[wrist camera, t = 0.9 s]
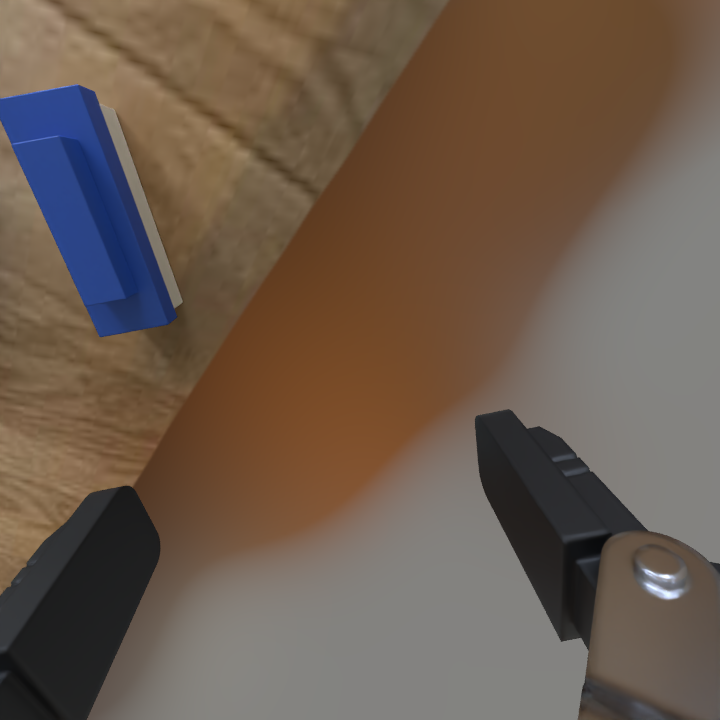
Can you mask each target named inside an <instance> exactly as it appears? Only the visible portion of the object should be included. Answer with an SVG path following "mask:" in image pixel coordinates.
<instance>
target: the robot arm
mask: <svg viewBox="0 0 720 720" xmlns="http://www.w3.org/2000/svg"><path fill="white" fill-rule="evenodd" d="M475 429H476V441H477V453H478V465H479V473H480V478H481V482H482V486H483V489H484V491H485V494H486V496H487V498H488V500H489V502H490V504H491V506H492V508H493V510H494V512H495V514H496V516H497V518H498V520H499V522H500V524H501V526H502V528H503V530H504V532H505V533H506V535H507V537H508V539H509V541H510V543H511V545H512V547H513V549H514V551H515V553H516V555H517V557H518V558H519V560H520V563H521V564H522V566H523V568H524V570H525V572H526V574H527V576H528V578H529V580H530V582H531V584H532V586H533V588H534V590H535V592H536V594H537V595H538V597H539V599H540V601H541V603H542V605H543V607H544V609H545V611H546V613H547V615H548V617H549V619H550V621H551V623H552V625H553V626H554V629H555V630H556V632H557V634H558V636H559V638H560V640H561V642H562V641H567V640H572V639H577V638H582V640H583V642H584V644H585V645H586V647H587V649H588V651H589V653H588V661H587V669H586V676H585V683H584V685H583V689H582V695H581V701H580V708H579V716H578V720H720V564H718V563H712V562H709V561H708V560H707V559H706V558H705V557H703V556H702V555H701V554H700V553H699V552H697V551H696V550H694V549H693V548H691V547H690V546H688V545H686V544H684V543H683V542H681V541H679V540H676V539H674V538H672V537H669V536H666V535H663V534H660V533H655V532H650V531H648V530H647V529H646V528H645V527H644V526H643V525H642V524H641V523H640V522H639V521H638V520H637V519H636V518H635V517H634V515H633V514H632V513H631V512H630V511H629V510H628V509H627V508H626V507H625V506H624V505H623V504H622V503H621V502H620V500H619V499H618V498H617V497H616V496H615V495H614V494H613V493H612V492H611V491H610V490H609V489H608V488H607V487H606V485H605V484H604V483H603V482H602V481H601V480H600V479H599V478H598V477H597V476H596V475H595V474H594V473H593V472H590V470H589V467H588V466H587V465H586V464H585V463H584V462H583V461H582V460H581V459H580V458H577V456H576V453H575V452H574V451H573V450H572V449H571V448H570V447H569V446H568V445H567V444H566V443H565V442H564V441H563V439H562V438H560V437H558V436H556V435H555V434H553V433H551V432H549V431H547V430H545V429H543V428H541V427H534V428H529V429H527V428H526V427H525V426H524V425H523V424H522V423H521V421H520V420H519V419H518V418H517V416H516V415H515V414H514V413H513V412H512V411H511V410H509V409H508V410H503V411H498V412H493V413H489V414H483V415H478V416H476V418H475ZM159 555H160V539H159V536H158V533H157V531H156V529H155V527H154V525H153V523H152V521H151V519H150V517H149V516H148V514H147V512H146V510H145V508H144V506H143V504H142V502H141V500H140V499H139V497H138V495H137V493H136V491H135V490H134V489H133V488H132V487H130V486H121V487H116V488H111V489H107V490H102V491H97V492H93V493H90V494H89V495H88V496H87V497H86V498H85V499H84V501H83V502H82V503H81V504H80V506H79V507H78V508H77V510H76V511H75V512H74V513H73V515H72V516H71V517H70V519H69V520H68V521H67V522H66V523H65V524H64V525H62V526H61V527H60V528H59V529H58V530H56V531H55V532H54V533H53V534H52V535H51V536H49V537H48V538H47V539H46V540H45V541H44V542H43V543H42V544H41V546H40V547H39V548H38V549H37V551H36V552H35V553H34V554H33V556H32V557H31V558H30V559H29V561H28V562H27V563H26V564H27V566H26V567H25V568H22V569H21V571H20V572H19V573H18V574H17V576H16V577H15V578H14V579H13V581H12V582H11V587H7V588H6V589H5V591H4V592H3V593H2V594H1V596H0V720H87V718H88V715H89V713H90V711H91V709H92V707H93V704H94V702H95V700H96V698H97V696H98V693H99V691H100V689H101V687H102V684H103V682H104V680H105V678H106V676H107V673H108V671H109V669H110V667H111V664H112V662H113V660H114V658H115V655H116V654H117V651H118V649H119V647H120V645H121V642H122V640H123V638H124V636H125V633H126V631H127V629H128V627H129V625H130V622H131V620H132V618H133V616H134V614H135V611H136V609H137V607H138V605H139V603H140V600H141V598H142V596H143V594H144V591H145V589H146V587H147V585H148V583H149V580H150V578H151V576H152V573H153V572H154V569H155V567H156V565H157V563H158V559H159Z"/></svg>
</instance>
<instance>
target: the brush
mask: <svg viewBox="0 0 720 720" xmlns="http://www.w3.org/2000/svg"><path fill="white" fill-rule="evenodd" d="M0 120H1V122H2V124H3V126H4V129H5V131H6V133H7V135H8V137H9V140H10V142H11V144H12V147H13V150H14V152H15V154H16V156H17V158H18V161H19V163H20V165H21V167H22V169H23V171H24V174H25V176H26V178H27V180H28V182H29V185H30V187H31V189H32V191H33V193H34V195H35V198H36V200H37V202H38V204H39V206H40V209H41V211H42V213H43V215H44V217H45V220H46V222H47V224H48V226H49V228H50V230H51V233H52V235H53V237H54V239H55V241H56V244H57V246H58V248H59V250H60V252H61V255H62V257H63V259H64V261H65V263H66V265H67V268H68V270H69V272H70V274H71V276H72V279H73V281H74V283H75V285H76V287H77V290H78V292H79V294H80V296H81V298H82V300H83V303H84V305H85V306H86V308H87V310H88V312H89V315H90V317H91V319H92V321H93V323H94V326H95V328H96V330H97V332H98V334H99V337H104V336H110V335H115V334H121V333H126V332H131V331H137V330H142V329H148V328H153V327H158V326H164V325H168V324H170V323H171V322H172V321H173V320H174V319H176V318H177V315H176V312H175V308H176V307H178V306H179V305H180V304H181V303H183V301H182V298H181V295H180V292H179V290H178V287H177V284H176V281H175V278H174V275H173V273H172V270H171V267H170V264H169V261H168V259H167V256H166V253H165V250H164V247H163V245H162V242H161V239H160V236H159V233H158V230H157V228H156V225H155V222H154V219H153V216H152V214H151V211H150V208H149V205H148V202H147V199H146V197H145V194H144V191H143V188H142V185H141V183H140V180H139V177H138V174H137V171H136V169H135V166H134V163H133V160H132V157H131V154H130V152H129V149H128V146H127V143H126V140H125V138H124V135H123V132H122V129H121V126H120V123H119V121H118V118H117V115H116V112H115V110H114V109H111V108H109V107H106V106H103V105H101V104H99V102H98V99H97V97H96V94H95V92H94V91H92V90H90V89H87V88H85V87H82V86H80V85H71V86H66V87H60V88H55V89H49V90H44V91H39V92H33V93H28V94H22V95H17V96H11V97H6V98H1V99H0Z"/></svg>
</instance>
